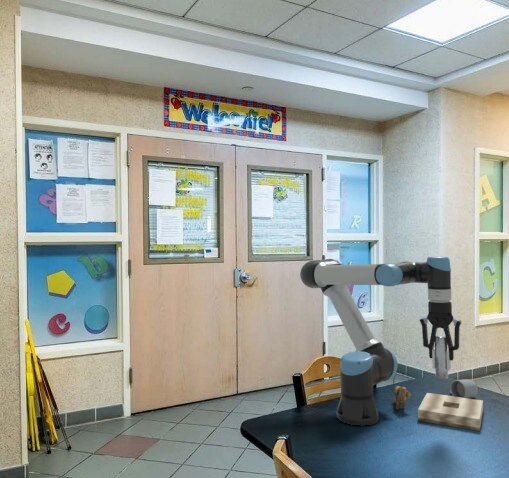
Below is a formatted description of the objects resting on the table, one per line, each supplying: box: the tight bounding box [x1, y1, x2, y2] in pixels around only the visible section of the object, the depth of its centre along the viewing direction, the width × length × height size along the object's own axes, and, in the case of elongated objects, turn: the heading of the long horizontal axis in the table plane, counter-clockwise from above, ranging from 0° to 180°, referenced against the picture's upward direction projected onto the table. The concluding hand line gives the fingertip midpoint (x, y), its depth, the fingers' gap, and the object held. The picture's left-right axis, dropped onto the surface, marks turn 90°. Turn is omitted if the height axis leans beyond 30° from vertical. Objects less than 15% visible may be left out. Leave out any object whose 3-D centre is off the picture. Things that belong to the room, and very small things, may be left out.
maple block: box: [417, 392, 484, 432], centre depth 167 cm, size 20×20×4 cm
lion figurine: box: [392, 385, 412, 410], centre depth 179 cm, size 15×5×9 cm, turn 179°
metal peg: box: [434, 335, 449, 380], centre depth 156 cm, size 4×4×14 cm
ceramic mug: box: [449, 378, 479, 399], centre depth 187 cm, size 11×8×8 cm
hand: (441, 368), depth 156 cm, fingers closed on metal peg, 4 cm apart
